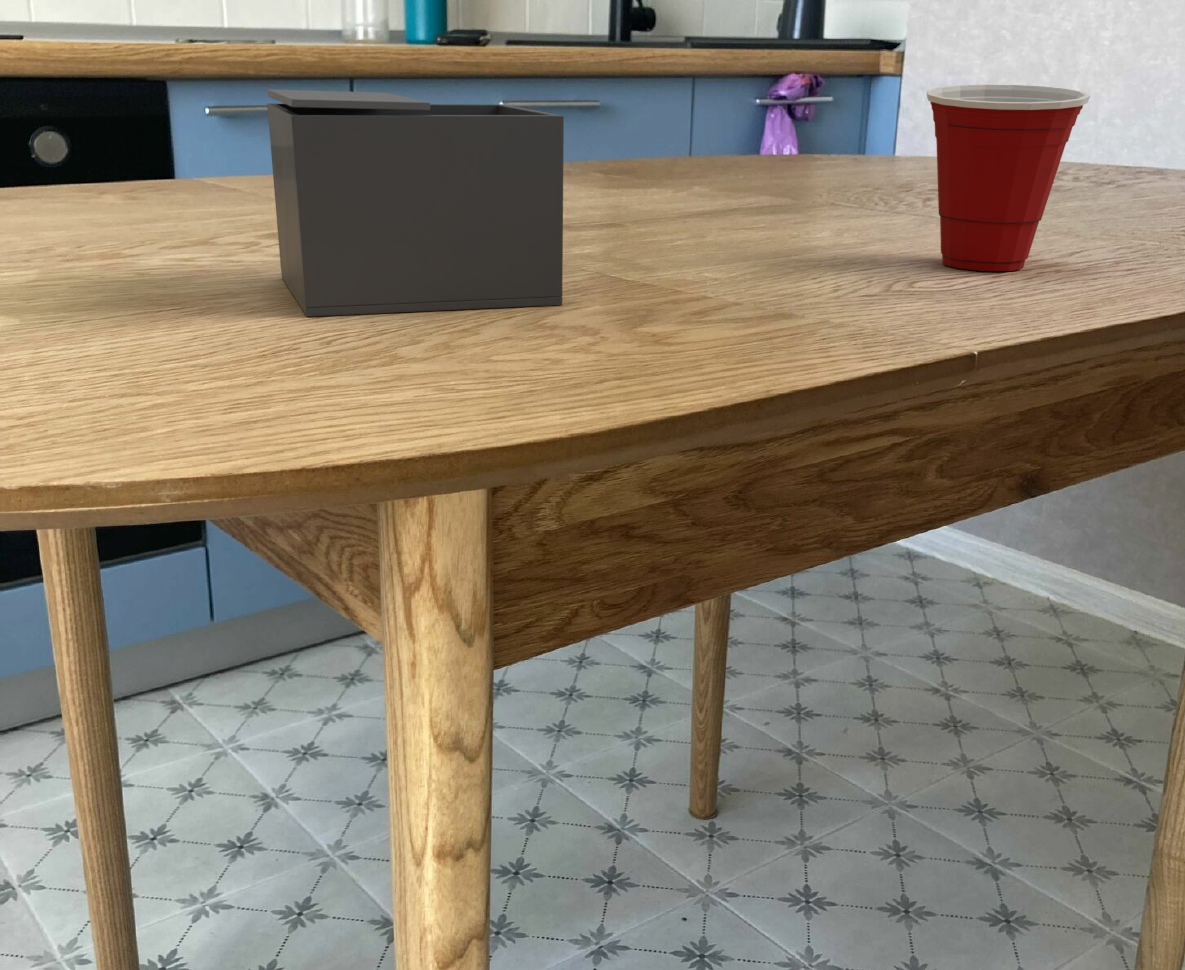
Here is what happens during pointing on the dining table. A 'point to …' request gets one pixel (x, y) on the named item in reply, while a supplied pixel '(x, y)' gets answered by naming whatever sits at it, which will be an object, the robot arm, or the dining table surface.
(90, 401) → the dining table surface
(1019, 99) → the plastic cup
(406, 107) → the flap
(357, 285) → the carton
